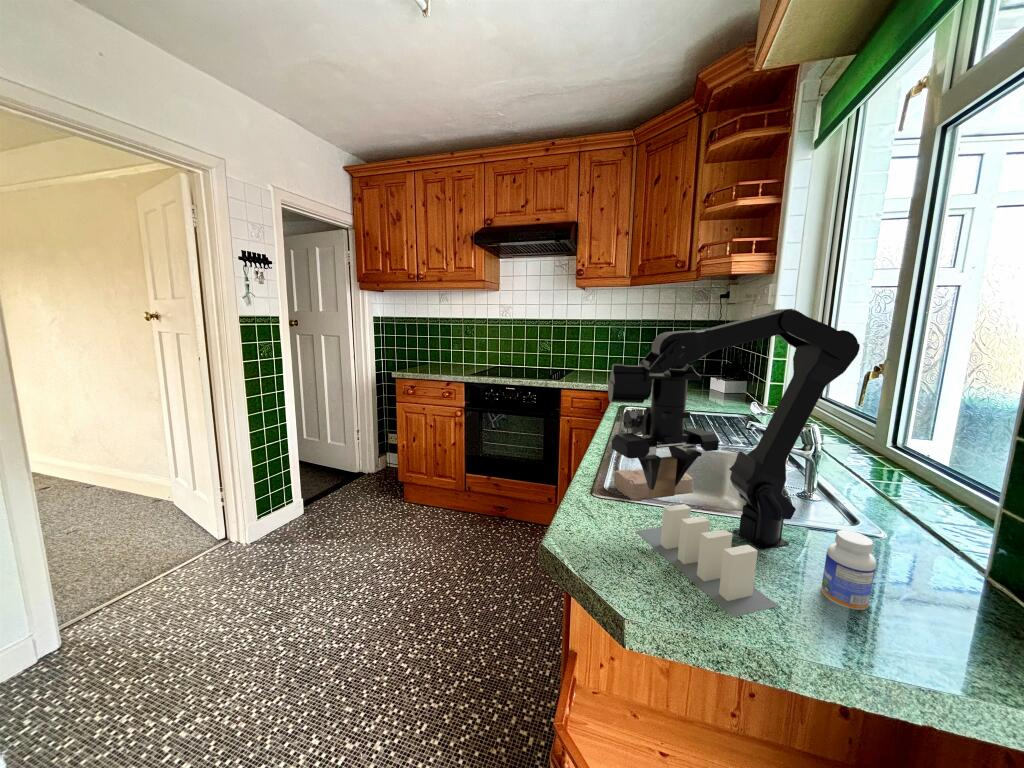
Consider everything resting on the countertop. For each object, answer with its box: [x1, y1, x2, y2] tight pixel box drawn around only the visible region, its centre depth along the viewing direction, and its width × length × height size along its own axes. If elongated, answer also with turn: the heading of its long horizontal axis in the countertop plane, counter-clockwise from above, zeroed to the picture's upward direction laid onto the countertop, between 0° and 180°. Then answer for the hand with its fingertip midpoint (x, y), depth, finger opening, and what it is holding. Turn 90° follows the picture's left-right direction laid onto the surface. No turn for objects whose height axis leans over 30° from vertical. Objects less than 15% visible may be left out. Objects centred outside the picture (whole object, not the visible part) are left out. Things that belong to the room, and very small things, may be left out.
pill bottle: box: [820, 529, 877, 611], centre depth 58 cm, size 5×5×10 cm
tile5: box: [719, 544, 758, 601], centre depth 58 cm, size 4×2×7 cm, turn 106°
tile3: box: [678, 515, 711, 564], centre depth 67 cm, size 4×2×7 cm, turn 106°
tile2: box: [661, 503, 692, 549], centre depth 71 cm, size 4×2×7 cm, turn 106°
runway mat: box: [634, 526, 780, 618], centre depth 66 cm, size 8×23×1 cm, turn 16°
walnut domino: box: [648, 455, 677, 499], centre depth 74 cm, size 4×2×7 cm, turn 106°
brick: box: [613, 469, 694, 501], centre depth 95 cm, size 17×8×5 cm, turn 106°
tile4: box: [697, 529, 733, 581], centre depth 62 cm, size 4×2×7 cm, turn 106°
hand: (662, 487), depth 74 cm, fingers closed on walnut domino, 4 cm apart
